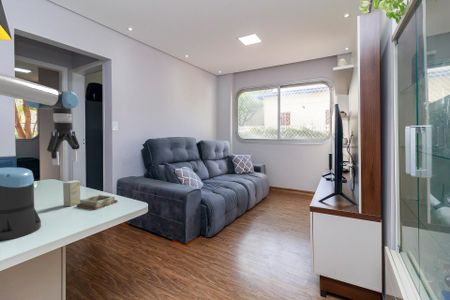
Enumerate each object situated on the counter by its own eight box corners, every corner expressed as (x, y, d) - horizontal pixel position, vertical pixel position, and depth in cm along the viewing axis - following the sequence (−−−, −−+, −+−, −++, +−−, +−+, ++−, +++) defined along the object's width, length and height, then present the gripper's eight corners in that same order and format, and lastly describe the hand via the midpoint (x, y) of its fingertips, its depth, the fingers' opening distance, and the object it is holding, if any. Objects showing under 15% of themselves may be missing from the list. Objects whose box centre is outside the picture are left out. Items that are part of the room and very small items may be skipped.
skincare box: (70, 206, 109) (69, 182, 108) (63, 206, 110) (62, 182, 109) (81, 203, 115) (80, 180, 115) (74, 202, 116) (73, 180, 116)
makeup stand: (96, 209, 105) (95, 203, 105) (77, 206, 109) (76, 200, 109) (117, 202, 117) (117, 196, 117) (99, 199, 122) (99, 194, 122)
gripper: (51, 121, 99) (54, 167, 101) (85, 122, 124) (87, 159, 126) (35, 121, 99) (38, 167, 101) (72, 122, 124) (74, 159, 126)
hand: (65, 162), depth 114 cm, fingers open, 13 cm apart
